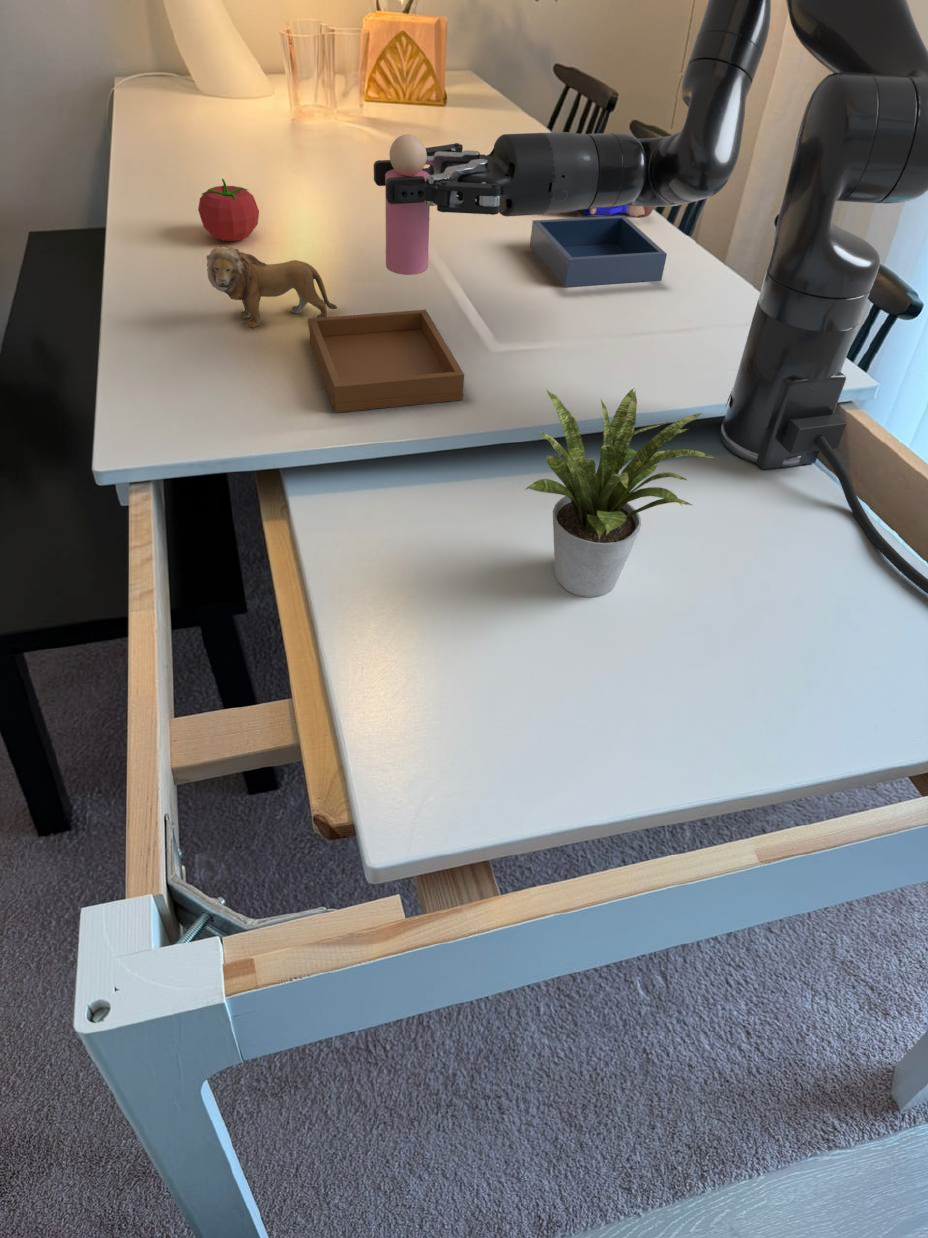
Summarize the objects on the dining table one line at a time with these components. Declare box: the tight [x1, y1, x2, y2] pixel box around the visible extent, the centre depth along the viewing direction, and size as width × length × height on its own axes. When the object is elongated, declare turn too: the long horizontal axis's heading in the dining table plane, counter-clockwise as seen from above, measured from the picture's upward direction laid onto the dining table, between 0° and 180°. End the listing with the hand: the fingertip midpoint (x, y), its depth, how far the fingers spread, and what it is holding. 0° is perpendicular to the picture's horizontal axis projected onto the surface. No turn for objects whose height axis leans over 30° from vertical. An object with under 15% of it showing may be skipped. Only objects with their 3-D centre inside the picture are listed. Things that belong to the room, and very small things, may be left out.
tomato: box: [197, 178, 260, 242], centre depth 123 cm, size 8×8×8 cm
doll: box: [384, 134, 431, 276], centre depth 92 cm, size 4×4×13 cm
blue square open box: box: [529, 215, 668, 289], centre depth 123 cm, size 14×14×4 cm
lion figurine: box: [206, 246, 338, 329], centre depth 106 cm, size 15×5×9 cm, turn 113°
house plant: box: [524, 388, 716, 598], centre depth 71 cm, size 14×14×16 cm
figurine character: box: [578, 205, 655, 218], centre depth 137 cm, size 7×8×15 cm
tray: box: [307, 309, 465, 414], centre depth 100 cm, size 16×14×3 cm
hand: (381, 182), depth 90 cm, fingers closed on doll, 4 cm apart
